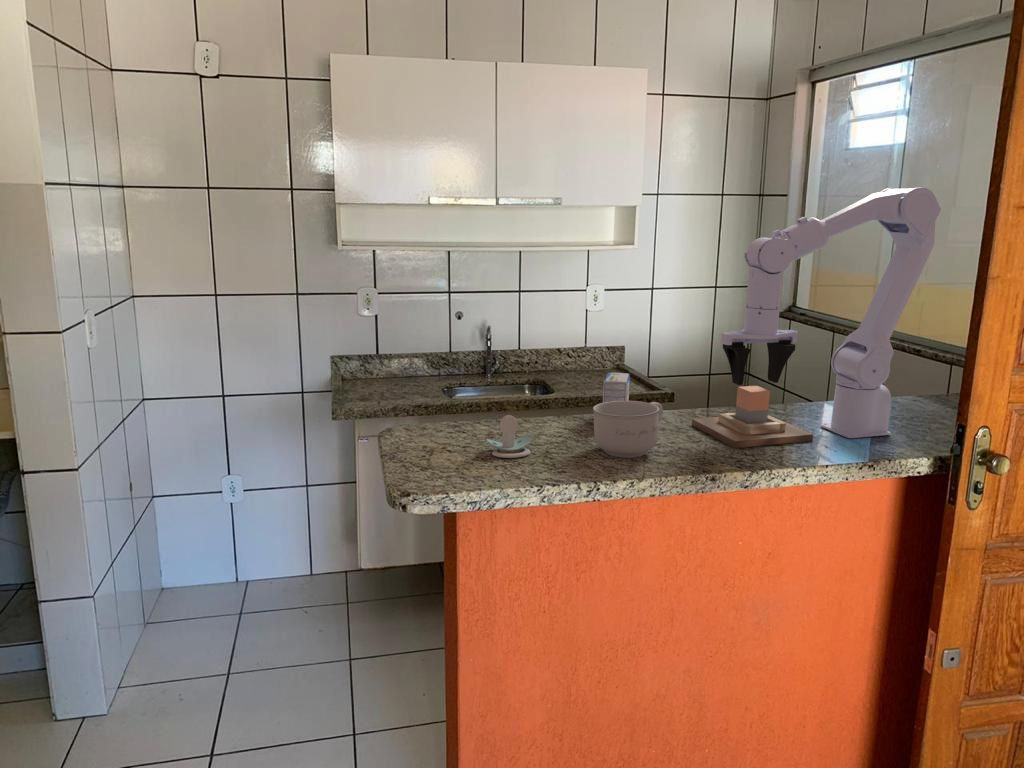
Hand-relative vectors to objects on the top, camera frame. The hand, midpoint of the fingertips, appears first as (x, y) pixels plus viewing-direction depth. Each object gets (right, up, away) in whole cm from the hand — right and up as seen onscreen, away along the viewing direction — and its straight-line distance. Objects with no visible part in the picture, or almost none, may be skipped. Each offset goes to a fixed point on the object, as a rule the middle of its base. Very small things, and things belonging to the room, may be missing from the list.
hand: (755, 382), depth 137 cm
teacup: (-24, -12, -9) cm, 28 cm away
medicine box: (-24, -8, +8) cm, 27 cm away
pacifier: (-44, -12, -11) cm, 47 cm away
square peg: (0, -8, +2) cm, 8 cm away
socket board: (0, -9, +2) cm, 9 cm away
